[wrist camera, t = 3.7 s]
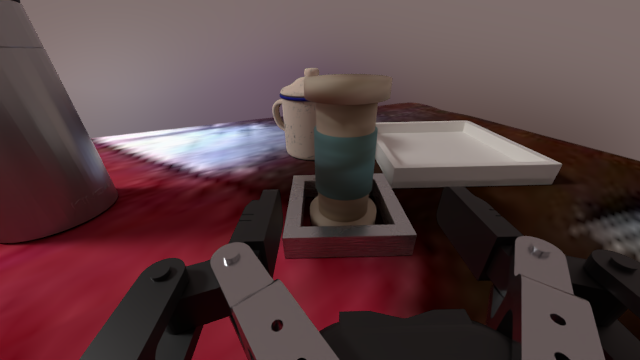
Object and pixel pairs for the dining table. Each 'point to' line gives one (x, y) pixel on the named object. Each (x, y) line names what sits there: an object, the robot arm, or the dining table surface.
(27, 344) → the dining table surface
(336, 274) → the dining table surface
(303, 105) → the teacup with lid
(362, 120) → the spool
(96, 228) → the dining table surface
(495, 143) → the tray
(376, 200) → the socket
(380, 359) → the robot arm
